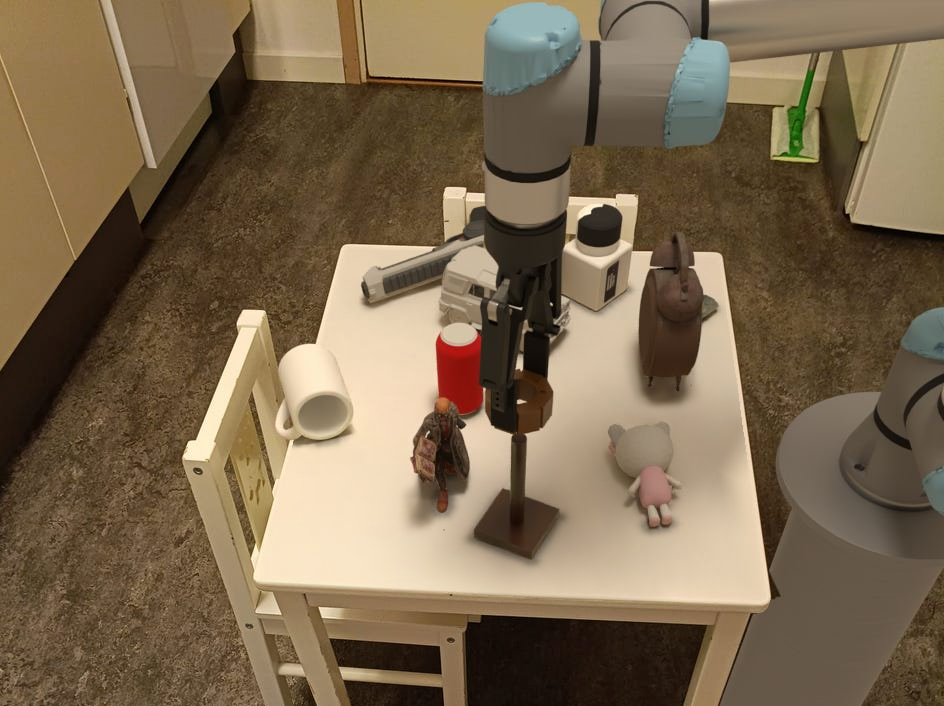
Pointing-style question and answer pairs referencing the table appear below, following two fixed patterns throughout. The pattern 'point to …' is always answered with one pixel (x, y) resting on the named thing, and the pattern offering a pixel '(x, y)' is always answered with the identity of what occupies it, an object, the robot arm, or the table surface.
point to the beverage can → (459, 366)
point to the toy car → (479, 290)
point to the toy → (647, 465)
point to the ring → (528, 402)
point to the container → (596, 258)
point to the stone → (708, 305)
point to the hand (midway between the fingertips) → (519, 405)
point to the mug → (312, 394)
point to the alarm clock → (670, 312)
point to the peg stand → (517, 511)
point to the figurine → (441, 448)
